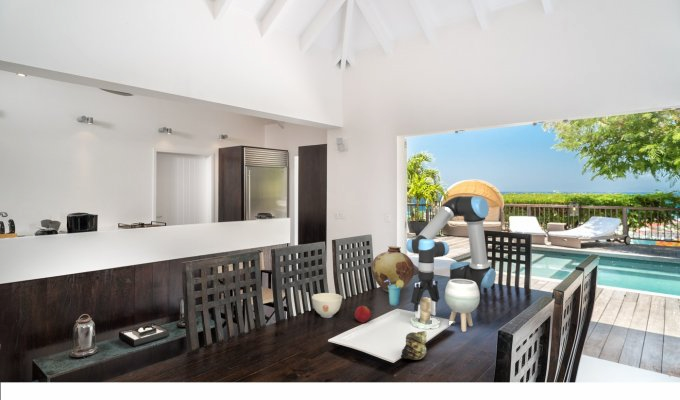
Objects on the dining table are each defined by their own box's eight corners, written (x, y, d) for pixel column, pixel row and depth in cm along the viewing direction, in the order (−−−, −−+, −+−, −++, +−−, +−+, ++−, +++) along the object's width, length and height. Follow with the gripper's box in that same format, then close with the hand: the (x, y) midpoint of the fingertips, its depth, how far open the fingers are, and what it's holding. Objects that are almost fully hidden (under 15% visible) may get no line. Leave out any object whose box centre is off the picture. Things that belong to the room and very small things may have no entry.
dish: (425, 318, 203) (425, 313, 203) (445, 326, 191) (445, 320, 191) (404, 322, 195) (404, 317, 195) (424, 331, 183) (424, 325, 183)
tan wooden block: (425, 320, 195) (425, 296, 195) (430, 322, 192) (430, 298, 192) (420, 321, 194) (420, 297, 193) (425, 323, 191) (425, 299, 190)
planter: (479, 324, 194) (479, 279, 193) (479, 335, 179) (480, 286, 178) (445, 320, 199) (446, 276, 199) (442, 331, 184) (443, 283, 183)
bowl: (347, 313, 208) (347, 295, 208) (333, 322, 194) (334, 302, 194) (320, 309, 215) (320, 291, 215) (305, 318, 200) (306, 298, 200)
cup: (388, 308, 220) (388, 281, 220) (379, 304, 226) (379, 278, 226) (406, 304, 228) (406, 278, 227) (397, 301, 234) (397, 276, 234)
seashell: (395, 352, 158) (395, 328, 158) (423, 352, 159) (423, 327, 159) (401, 364, 148) (402, 337, 147) (431, 363, 149) (431, 337, 148)
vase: (384, 285, 274) (385, 242, 274) (420, 291, 258) (421, 246, 258) (362, 293, 251) (363, 246, 251) (401, 300, 235) (401, 251, 235)
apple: (360, 325, 190) (360, 309, 190) (352, 320, 197) (352, 304, 197) (373, 323, 194) (373, 307, 193) (364, 318, 201) (365, 303, 201)
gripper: (436, 267, 201) (436, 310, 202) (403, 271, 190) (402, 317, 190) (447, 270, 195) (446, 314, 195) (414, 274, 184) (413, 321, 184)
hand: (425, 315), depth 193 cm, fingers open, 9 cm apart
